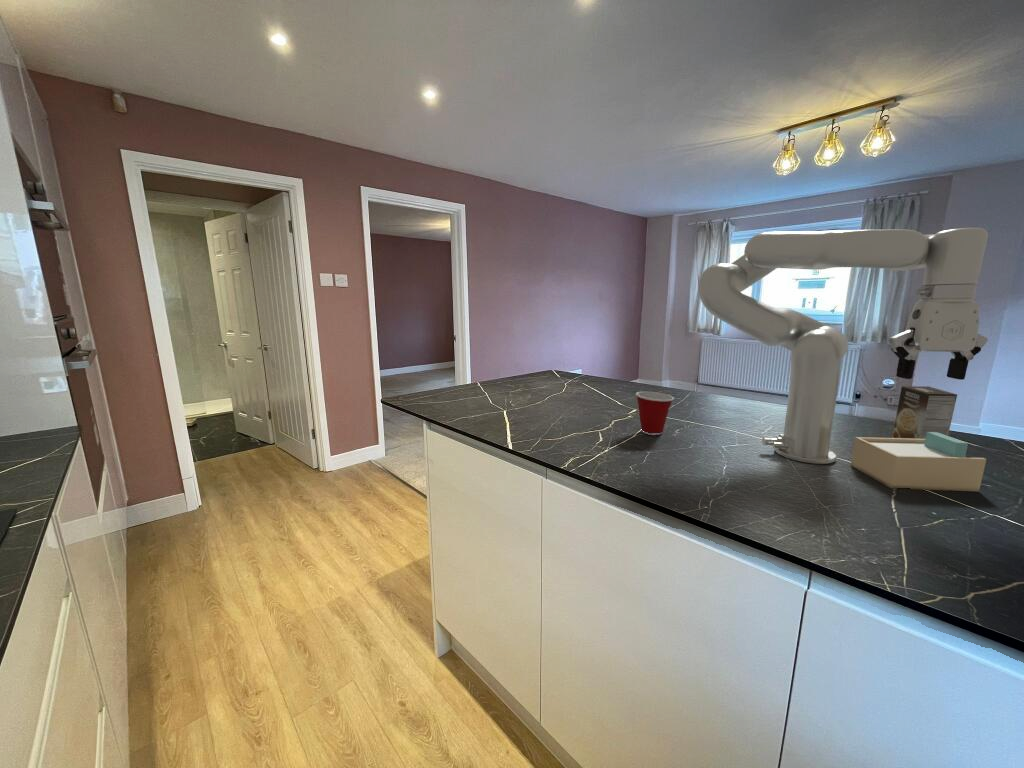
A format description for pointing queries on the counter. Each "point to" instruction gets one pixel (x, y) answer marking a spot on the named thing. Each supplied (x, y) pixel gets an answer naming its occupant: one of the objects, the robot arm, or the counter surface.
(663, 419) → the plastic cup
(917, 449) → the lid
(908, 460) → the box
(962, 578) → the counter surface
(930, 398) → the coffee box
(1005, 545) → the counter surface
